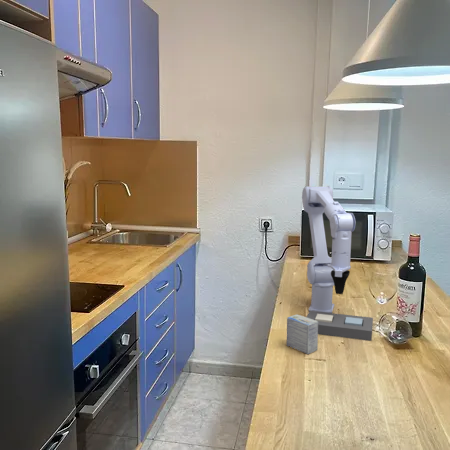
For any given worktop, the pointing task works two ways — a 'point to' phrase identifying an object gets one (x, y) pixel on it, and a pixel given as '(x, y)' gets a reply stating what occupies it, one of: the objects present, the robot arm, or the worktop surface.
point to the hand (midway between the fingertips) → (339, 293)
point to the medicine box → (302, 333)
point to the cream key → (324, 318)
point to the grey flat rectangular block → (344, 326)
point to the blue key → (353, 321)
